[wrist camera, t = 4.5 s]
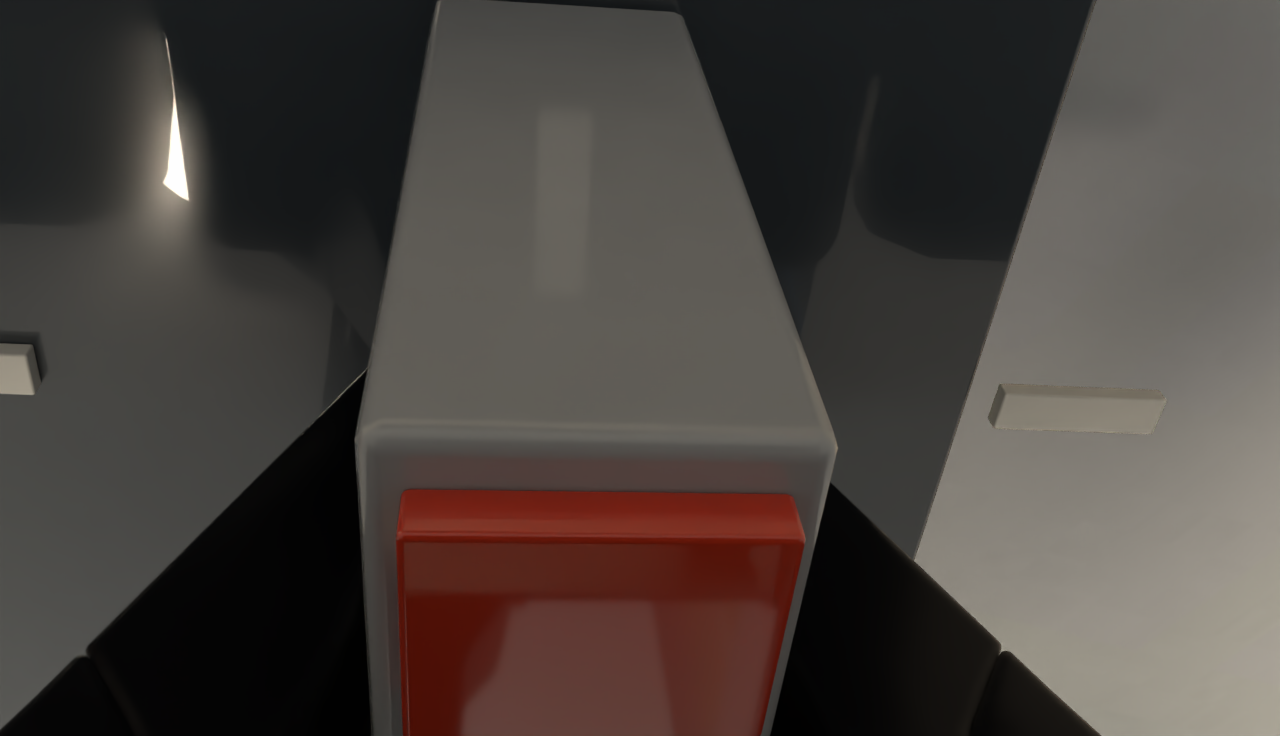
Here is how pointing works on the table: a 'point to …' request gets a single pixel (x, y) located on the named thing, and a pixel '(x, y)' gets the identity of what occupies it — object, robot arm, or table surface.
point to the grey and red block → (580, 398)
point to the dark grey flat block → (362, 229)
